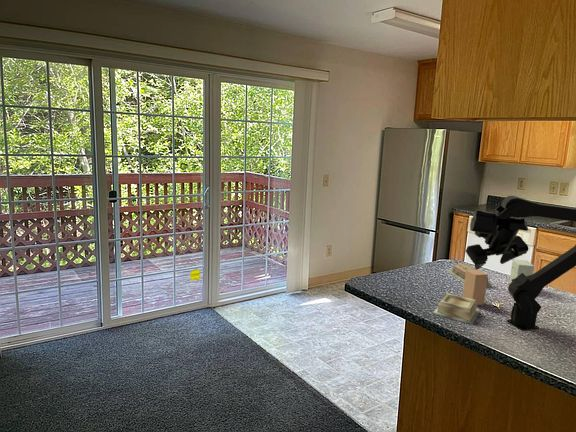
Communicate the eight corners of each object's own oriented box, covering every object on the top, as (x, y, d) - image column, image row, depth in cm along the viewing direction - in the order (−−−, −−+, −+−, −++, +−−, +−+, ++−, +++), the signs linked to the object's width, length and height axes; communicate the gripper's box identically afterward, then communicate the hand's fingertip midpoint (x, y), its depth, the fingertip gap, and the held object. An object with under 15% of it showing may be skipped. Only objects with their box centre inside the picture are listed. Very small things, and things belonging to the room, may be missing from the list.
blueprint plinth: (479, 312, 142) (481, 299, 141) (472, 324, 132) (474, 311, 131) (442, 302, 149) (444, 291, 148) (432, 313, 139) (434, 301, 138)
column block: (483, 304, 149) (488, 274, 147) (471, 305, 147) (475, 275, 145) (473, 299, 153) (477, 269, 151) (462, 300, 152) (465, 270, 150)
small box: (530, 292, 163) (535, 266, 161) (514, 291, 164) (518, 264, 162) (523, 285, 170) (527, 260, 168) (508, 284, 171) (512, 258, 169)
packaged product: (494, 276, 167) (470, 275, 165) (492, 287, 168) (468, 287, 166) (469, 261, 184) (447, 261, 183) (468, 272, 185) (446, 272, 184)
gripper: (516, 211, 138) (499, 242, 149) (463, 221, 135) (451, 253, 147) (538, 236, 131) (519, 267, 142) (482, 247, 128) (468, 278, 139)
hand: (488, 265), depth 143 cm, fingers open, 9 cm apart
